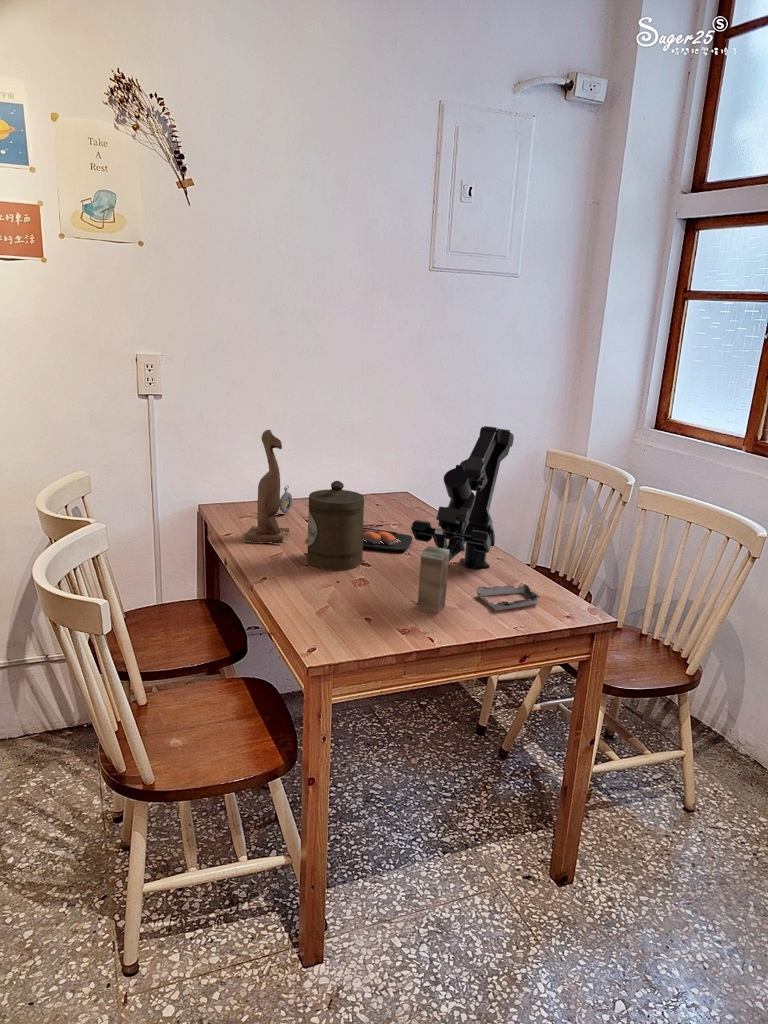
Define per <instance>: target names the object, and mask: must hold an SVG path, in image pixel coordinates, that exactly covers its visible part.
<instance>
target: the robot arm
mask: <svg viewBox="0 0 768 1024" xmlns="http://www.w3.org/2000/svg"><path fill="white" fill-rule="evenodd" d="M514 439H515V436H514V434H513V433H511V431H510V429H504V428H499V427H495V426H487V425H485V426H481V428H480V430H479V437H478V439H477V441H476V442H475V445H474V447H473V448H472V451H471V452H470V455H469V457H468V458H467V459H464V460H462V461H461V462H460V463H459V464H456V465H455V468H452V469H449V470H448V471H447V472H446V473H445V474H444V476H443V482H444V486H445V488H446V494H447V496H448V497H449V499H450V501H449V502H448V506H439V507H438V511H437V515H436V519H435V520H436V521H438V527H432V525H431V522H430V521H427V520H425V521H424V520H419V519H416V520H415V521H413V522H412V524H411V527H410V531H411V532H412V534H413V537H414V539H415V540H416V541H418V542H419V541H420V542H425V543H428V542H430V541H432V540H433V541H434V544H435V547H438V548H443V549H449V562H450V561H451V560H452V559H453V558H455V556H457V555H458V554H459V553H461V552H464V553H465V554H464V558H463V557H462V558H460V559H459V560H460V562H461V563H462V564H463V565H464V566H465V567H466V568H468V569H473V568H474V569H475V568H476V569H478V568H479V569H481V568H483V569H485V568H490V567H491V565H490V564H489V563H488V562H487V554H488V553H490V551H491V548H492V547H495V542H496V538H495V537H496V534H495V531H494V527H493V519H492V517H491V513H490V510H491V509H490V508H491V504H492V500H493V497H494V496H493V495H494V493H495V492H494V491H495V486H496V483H497V478H498V473H499V470H500V465H501V462H502V461H503V460H504V459H505V458H507V456H508V455H509V453H510V449H511V448H512V447H513V445H514V441H515V440H514ZM473 491H474V492H475V493H474V492H473ZM447 541H448V543H447Z"/></svg>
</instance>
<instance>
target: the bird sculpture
mask: <svg viewBox="0 0 768 1024" xmlns="http://www.w3.org/2000/svg"><path fill="white" fill-rule="evenodd" d="M260 439H261V442H262V444H263V447H264V450H265V455H266V458H267V463H268V472H266V473H265V474H264V475H263V476H262V477H261V479H260V480H259V482H258V484H257V485H258V486H257V526H255V525H252V526H251V527H250V529H248V531H247V532H246V533H245V534H244V538H243V540H244V542H245V541H247V543H248V541H249V543H251V542H264V543H265V542H272V543H277V544H278V543H282V544H283V540H284V537H285V534H287V533H286V532H289V533H291V532H290V528H289V527H280V526H279V523H278V521H277V519H276V518H277V517H276V515H275V514H276V513H277V512H278V510H279V508H280V500H281V475H280V474H281V473H280V467H279V464H278V461H277V458H276V455H275V452H274V450H273V449H279V450H282V449H283V445H282V441H281V439H279V438H278V437H276V436H275V435H274V434H273V432H272V430H271V429H266V430H264V431H263V432H262V434H261V438H260ZM283 532H285V533H283ZM250 541H251V542H250Z"/></svg>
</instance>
